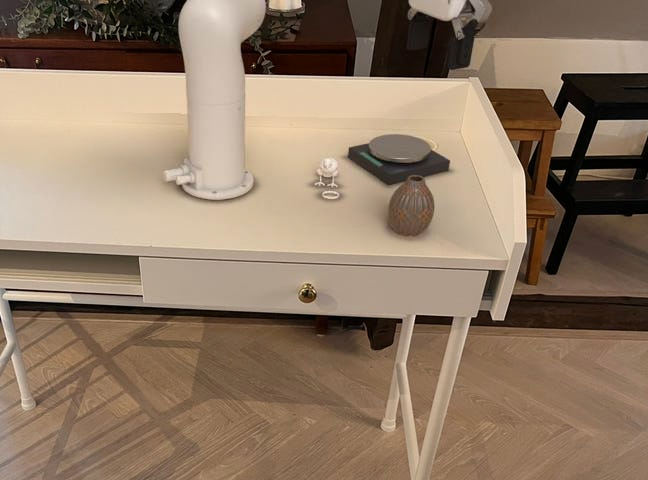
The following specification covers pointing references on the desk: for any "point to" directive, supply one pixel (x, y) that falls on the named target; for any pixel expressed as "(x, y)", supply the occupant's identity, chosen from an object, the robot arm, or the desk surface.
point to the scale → (397, 165)
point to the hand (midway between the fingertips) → (436, 58)
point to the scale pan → (399, 148)
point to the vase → (411, 207)
